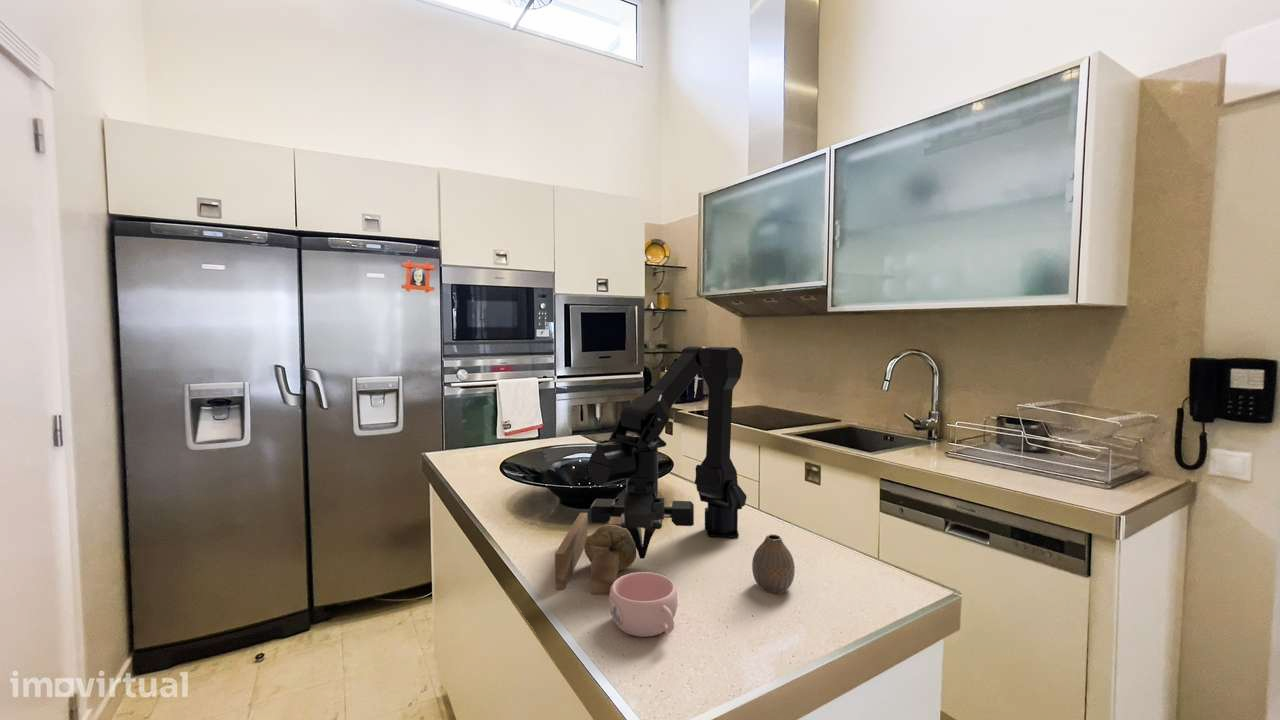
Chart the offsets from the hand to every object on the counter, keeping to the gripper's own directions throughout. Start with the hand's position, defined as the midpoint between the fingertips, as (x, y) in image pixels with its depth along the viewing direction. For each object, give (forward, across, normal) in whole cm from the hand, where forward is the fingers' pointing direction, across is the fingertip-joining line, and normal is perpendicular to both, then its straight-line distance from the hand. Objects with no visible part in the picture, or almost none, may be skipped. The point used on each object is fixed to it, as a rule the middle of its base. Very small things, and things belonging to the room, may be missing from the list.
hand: (642, 557), depth 96 cm
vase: (+2, +22, -6) cm, 23 cm away
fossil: (+2, -6, -1) cm, 6 cm away
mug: (+2, +2, -20) cm, 20 cm away
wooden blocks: (+1, -9, 0) cm, 9 cm away
